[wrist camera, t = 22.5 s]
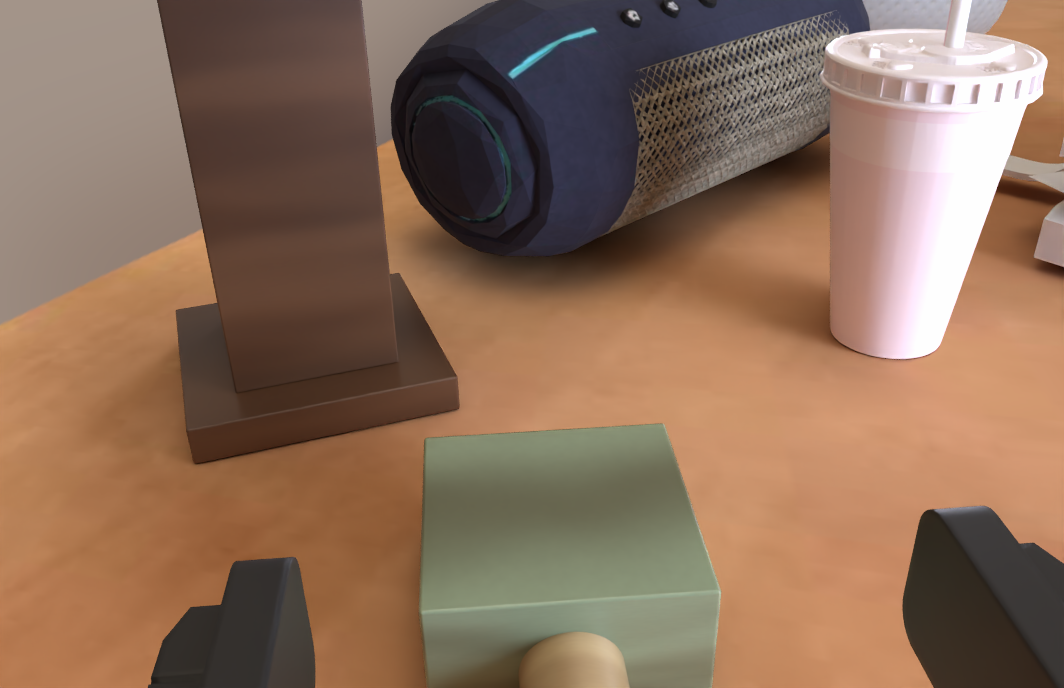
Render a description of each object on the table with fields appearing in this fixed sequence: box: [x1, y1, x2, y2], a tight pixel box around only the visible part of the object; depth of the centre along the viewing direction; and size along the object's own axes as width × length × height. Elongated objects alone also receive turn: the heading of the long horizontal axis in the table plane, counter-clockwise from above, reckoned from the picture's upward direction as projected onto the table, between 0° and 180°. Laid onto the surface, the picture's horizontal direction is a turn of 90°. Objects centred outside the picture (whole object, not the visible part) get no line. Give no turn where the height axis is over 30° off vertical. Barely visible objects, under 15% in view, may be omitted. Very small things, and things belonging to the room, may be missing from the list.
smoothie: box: [820, 0, 1048, 359], centre depth 31 cm, size 6×6×14 cm
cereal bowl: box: [862, 0, 1007, 34], centre depth 66 cm, size 17×17×7 cm
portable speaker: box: [391, 0, 870, 256], centre depth 44 cm, size 25×10×10 cm, turn 135°
